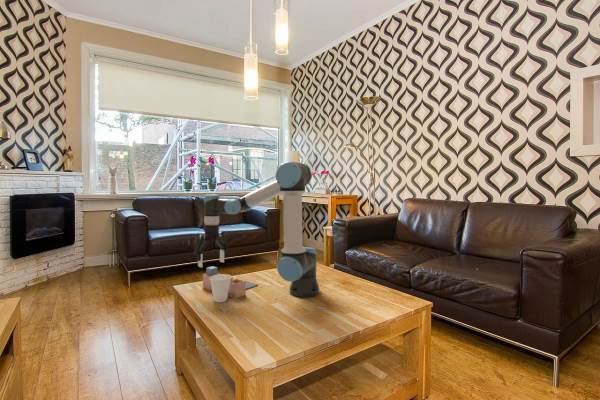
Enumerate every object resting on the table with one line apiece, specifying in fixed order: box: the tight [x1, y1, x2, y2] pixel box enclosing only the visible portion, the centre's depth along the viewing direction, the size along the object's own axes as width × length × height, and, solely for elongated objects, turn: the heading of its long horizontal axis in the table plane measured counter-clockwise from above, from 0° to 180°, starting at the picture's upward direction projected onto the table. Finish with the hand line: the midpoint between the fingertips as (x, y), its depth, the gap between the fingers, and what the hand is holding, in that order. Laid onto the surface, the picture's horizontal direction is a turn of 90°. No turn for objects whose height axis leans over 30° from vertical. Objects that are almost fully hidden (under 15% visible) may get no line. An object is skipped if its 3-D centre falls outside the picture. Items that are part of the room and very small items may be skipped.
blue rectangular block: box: [205, 265, 218, 276], centre depth 167 cm, size 4×4×8 cm
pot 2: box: [228, 278, 247, 299], centre depth 156 cm, size 6×6×7 cm
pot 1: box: [202, 272, 220, 291], centre depth 167 cm, size 6×6×7 cm
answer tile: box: [245, 280, 259, 291], centre depth 170 cm, size 10×10×1 cm
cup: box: [209, 273, 232, 303], centre depth 149 cm, size 10×10×11 cm
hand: (211, 264), depth 167 cm, fingers open, 13 cm apart
